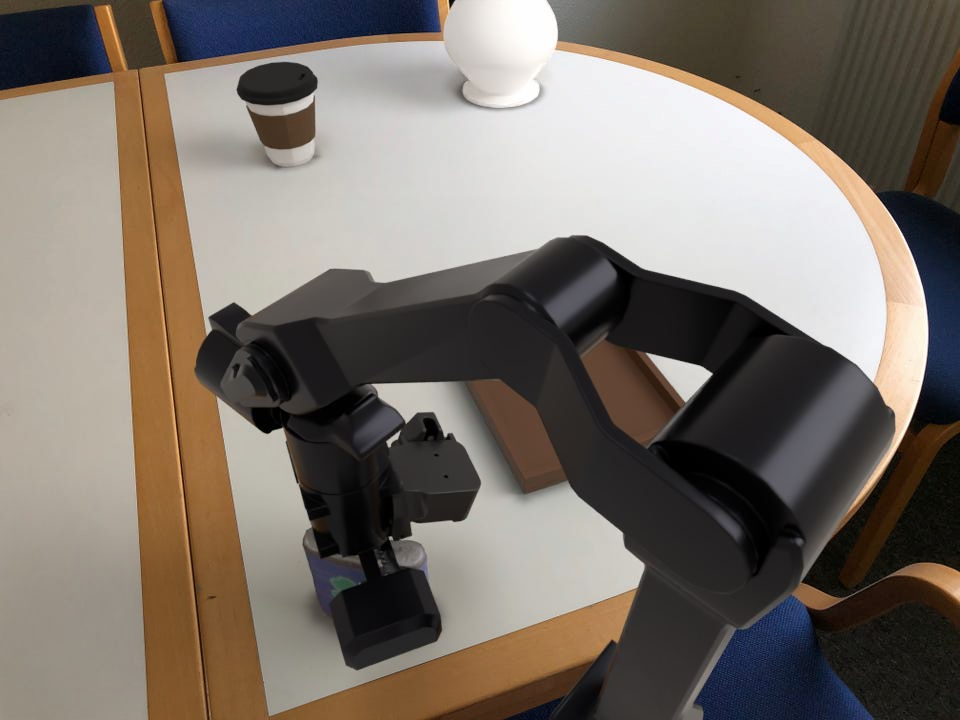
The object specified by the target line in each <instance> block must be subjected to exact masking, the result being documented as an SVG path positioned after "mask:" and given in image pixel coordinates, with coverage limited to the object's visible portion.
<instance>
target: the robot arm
mask: <svg viewBox="0 0 960 720" xmlns="http://www.w3.org/2000/svg"><path fill="white" fill-rule="evenodd" d="M207 319H208V322H209V325H210V327H211V330H210V331H209V333H207V336H206V337H205V338H204V340H203V341H202V342H201V345H200V347H199V349H198V351H197V356H196V359H195V367H194V370H193V372H194V375H195V378H196V379H197V381H198V382H199V384H200V385H202V386H203V387H204V388H205V389H207V390H208V391H209V392H210V393H212V395H214V396H215V397H217V398H218V399H219V400H221V401H222V402H223V403H224V404H225V405H226V406H228V407H230V408H231V409H232V410H233V411H234V412H236V413H237V414H238V415H240V416H241V417H242V418H244V420H246V421H247V422H248V423H249V424H251V425H252V426H254V427H255V428H256V429H257V430H259V431H260V432H261V433H263V434H265V435H269V434H271V433H272V432H274V431H277V430H282V429H283V433H284V437H285V445H286V449H287V453H288V456H289V461H290V464H291V467H292V472H293V476H294V479H295V483H296V484H297V485H298V488H299V492H300V495H301V498H302V503H303V507H304V509H305V511H306V514H307V518H308V521H309V523H310V525H311V527H312V530H313V534H314V537H315V541H316V545H317V548H318V552H319V555H320V559H324V558H327V557H330V556H333V555H336V554H337V555H338V557H339V558H344V557H348V556H358V557H359V560H360V563H361V567H362V570H363V573H364V576H365V579H366V580H365V581H362V582H360V583H359V585H356V586H353V587H350V588H347V589H344V590H341V591H340V592H339V593H338V594H337V595H336V596H335V597H334V598H333V599H332V601H331V602H330V603H329V606H330V610H331V614H332V618H333V620H332V621H333V625H334V628H335V632H336V636H337V640H338V644H339V648H340V652H341V654H342V655H341V656H342V659H343V661H344V665H345V666H346V667H348V668H349V669H353V670H354V671H360V670H362V669H365V668H369V667H371V666H374V665H376V664H380V663H382V662H384V661H387V660H390V659H392V658H396V657H397V656H401V655H404V654H406V653H409V652H411V651H415V650H417V649H420V648H423V647H425V646H428V645H431V644H434V643H436V642H438V640H439V639H440V636H441V634H442V632H443V623H442V616H441V615H442V614H441V612H440V609H439V607H438V604H437V602H436V600H435V597H434V594H433V591H432V589H431V585H430V582H429V583H428V581H427V578H426V575H425V573H424V571H423V570H418V569H413V568H409V567H407V566H402V565H399V564H398V562H397V559H396V556H395V553H394V550H393V548H392V545H391V542H390V540H393V541H398V540H405V539H406V538H410V537H413V532H412V531H413V530H412V525H411V524H412V523H414V524H430V523H440V522H450V521H451V522H453V523H459V522H463V521H465V520H467V518H468V516H469V514H470V511H471V509H472V507H473V505H474V502H475V501H476V498H477V496H478V493H479V491H480V488H481V486H482V481H481V478H480V476H479V472H478V471H477V470H476V469H477V468H476V467H475V465H474V463H473V462H472V459H471V458H470V455H469V453H468V451H467V449H466V448H465V446H464V445H463V444H462V443H461V442H459V441H457V439H456V437H455V435H454V433H453V432H448V433H446V434H447V435H446V436H445V434H444V430H443V427H442V426H441V424H440V422H439V419H438V417H437V415H436V413H435V412H434V411H420V412H416V413H415V414H414V415H413V416H412V417H411V418H409V420H408V421H407V422H406V420H405V418H404V417H403V415H402V414H401V413H400V412H399V410H397V408H395V407H393V405H391V404H389V403H388V402H386V401H385V400H384V399H382V398H381V397H379V392H378V390H377V388H376V387H375V386H374V385H386V384H387V385H388V384H389V385H391V384H419V383H421V384H422V383H424V384H425V383H457V382H458V383H459V382H465V381H494V380H501V381H502V382H504V383H505V384H506V385H507V386H509V387H510V388H511V389H513V390H514V391H515V392H516V393H518V394H519V395H520V396H522V397H523V398H524V399H525V400H527V401H528V402H529V403H531V404H532V405H533V406H534V407H535V408H536V409H537V411H538V414H539V416H540V418H541V420H542V423H543V425H544V427H545V430H546V432H547V434H548V436H549V439H550V441H551V443H552V445H553V448H554V450H555V452H556V455H557V457H558V459H559V461H560V464H561V466H562V468H563V470H564V473H565V475H566V477H567V480H566V481H568V485H569V486H570V488H571V489H572V490H573V492H574V493H575V495H576V496H577V497H578V498H579V499H581V501H583V502H584V503H585V504H587V506H588V507H590V508H592V509H593V510H594V511H595V512H596V513H598V514H599V515H600V516H601V517H602V518H604V519H605V520H606V521H607V522H608V523H610V524H611V525H613V526H614V527H615V528H616V529H617V530H619V531H620V532H621V533H622V542H623V545H624V546H623V547H624V548H625V549H626V550H627V551H628V552H629V553H630V554H632V555H633V556H634V557H635V558H636V559H637V560H639V561H640V562H641V563H642V564H643V565H644V566H643V571H642V573H641V577H640V579H639V582H638V585H637V588H636V590H635V593H634V597H633V599H632V602H631V605H630V608H629V610H628V613H627V615H626V619H625V621H624V624H623V627H622V631H621V632H620V636H619V639H618V641H616V640H614V639H612V638H611V639H610V641H609V642H608V643H607V645H605V647H604V648H603V650H601V652H600V653H599V654H598V656H597V657H596V658H595V659H594V661H593V662H592V663H591V664H590V666H589V667H588V668H587V669H586V670H585V672H584V673H583V674H582V675H581V676H580V678H579V679H578V681H576V683H575V684H574V685H573V686H572V688H571V689H570V690H569V692H568V693H567V694H566V695H565V696H564V698H563V699H562V701H560V703H559V704H558V705H557V706H556V708H555V709H554V710H553V711H552V713H550V715H549V716H548V719H547V720H703V718H704V710H703V706H702V705H701V704H700V703H698V702H697V701H696V699H697V697H698V696H699V694H700V692H701V691H702V689H703V687H704V685H705V684H706V682H707V680H708V679H709V677H710V676H711V673H712V671H713V670H714V668H715V666H716V665H717V663H718V661H719V660H720V658H721V656H722V654H723V653H724V651H725V650H726V648H727V646H728V644H729V642H730V641H731V639H732V637H733V636H734V634H735V632H736V631H737V630H746V629H749V628H750V627H752V626H753V625H754V624H756V623H757V622H758V621H759V620H761V619H762V618H764V617H765V616H766V615H767V614H768V613H771V611H772V610H774V609H775V608H776V607H778V605H780V604H782V602H784V601H785V600H787V599H788V598H789V597H790V596H791V595H792V594H793V593H795V591H796V590H797V589H798V588H799V587H800V585H801V583H802V582H803V580H804V579H805V577H806V576H807V574H808V573H809V571H810V569H811V568H812V566H813V565H814V564H815V562H816V561H817V559H818V558H819V556H820V555H821V553H822V551H823V550H824V548H825V547H826V546H827V544H828V542H829V541H830V540H831V538H832V536H833V535H834V533H835V532H836V530H838V529H837V528H838V527H839V526H840V524H841V523H842V521H843V520H844V518H845V517H846V515H847V514H848V512H849V510H850V509H851V508H852V506H853V504H854V503H855V502H856V500H857V498H858V497H859V495H860V494H861V492H862V491H863V489H864V488H865V487H866V485H867V483H868V482H869V480H870V479H871V477H872V476H873V474H874V473H875V471H876V470H877V468H878V467H879V465H880V464H881V462H882V461H883V459H884V457H886V455H887V453H888V452H889V450H890V449H891V446H892V443H893V440H894V438H895V434H896V430H897V427H896V413H895V411H894V409H893V408H891V407H890V406H889V405H887V403H886V401H885V400H884V398H883V396H882V393H881V391H880V389H879V388H878V386H877V385H876V384H875V383H874V382H873V381H872V379H870V377H869V376H868V375H867V374H866V373H865V372H864V371H863V370H862V369H861V368H860V366H859V365H858V364H856V363H855V362H853V361H852V360H851V359H849V358H848V357H846V356H845V355H843V354H841V353H840V352H838V351H837V350H836V349H834V348H833V347H830V346H828V345H825V344H822V342H820V341H819V340H817V339H815V338H813V337H812V336H811V335H809V334H807V333H806V332H804V331H802V330H801V329H799V328H798V327H796V326H795V325H793V324H792V323H790V322H788V321H787V320H785V319H784V318H782V317H780V316H779V315H777V314H775V312H773V311H771V310H770V309H768V308H766V307H765V306H764V305H762V304H761V303H759V302H758V301H755V300H754V299H753V298H751V297H749V296H747V295H746V294H744V293H741V292H739V291H736V290H733V289H729V288H725V287H721V286H716V285H712V284H708V283H704V282H699V281H695V280H691V279H687V278H684V277H683V278H682V277H679V276H674V275H670V274H665V273H662V272H657V271H654V270H649V269H645V268H644V267H643V268H642V267H641V266H640V265H638V264H636V262H634V261H632V260H630V259H629V258H627V257H626V256H624V255H622V254H621V253H620V252H619V251H617V250H615V249H614V248H612V247H611V246H609V245H608V244H606V243H604V242H602V241H601V240H598V239H596V238H594V237H592V236H589V235H586V234H585V235H584V234H571V235H569V236H568V237H565V236H562V237H561V236H560V237H558V236H557V237H554V238H552V239H550V240H548V241H547V242H546V243H544V244H543V245H541V246H540V247H538V248H535V249H531V250H526V251H522V252H516V253H512V254H509V255H504V256H500V257H495V258H491V259H485V260H482V261H477V262H472V263H468V264H463V265H459V266H455V267H449V268H446V269H442V270H437V271H432V272H428V273H423V274H418V275H414V276H410V277H404V278H401V279H397V280H392V281H388V282H381V281H380V282H379V281H375V279H374V278H373V275H372V274H371V272H370V271H368V270H365V269H354V268H353V269H351V268H328V269H327V270H326V271H324V272H322V273H320V274H319V275H317V276H315V277H314V278H313V279H311V280H308V281H307V282H305V283H304V284H302V285H300V286H299V287H298V288H296V289H294V290H292V291H291V292H289V293H287V294H285V295H284V296H282V297H281V298H279V299H277V300H276V301H274V302H272V303H271V304H269V305H267V306H266V307H264V308H262V309H261V310H259V311H257V312H255V313H254V314H251V313H249V312H248V310H246V309H245V308H244V307H242V306H241V305H239V304H238V303H237V302H236V301H233V302H232V303H230V304H228V305H226V306H224V307H223V308H221V309H219V310H218V311H215V312H214V313H212V314H211V315H209V316H208V317H207ZM604 339H605V340H606V341H608V342H610V343H612V344H614V345H616V346H620V347H624V348H628V349H632V350H636V351H640V352H645V353H646V354H648V355H653V356H658V357H662V358H666V359H670V360H674V361H678V362H682V363H686V364H691V365H696V366H699V367H700V368H703V369H705V370H706V371H708V372H709V373H710V374H711V375H710V376H709V378H707V380H705V381H704V383H702V385H701V386H700V387H699V388H698V389H697V390H696V391H695V392H693V394H692V395H691V396H690V397H689V398H688V399H687V401H685V404H684V405H683V406H682V407H681V408H680V409H679V410H678V411H677V412H676V413H675V414H674V415H673V417H672V418H671V419H670V420H669V421H668V422H667V423H666V424H665V425H664V426H663V427H662V428H661V429H660V430H659V431H658V432H657V433H656V434H655V436H654V437H653V438H652V439H651V440H650V441H649V442H648V443H647V444H646V445H645V446H642V445H641V444H640V443H638V442H637V441H636V440H634V439H633V438H632V437H630V436H629V435H628V434H626V433H625V432H624V431H622V430H621V429H620V428H618V427H617V426H616V425H615V424H614V423H613V422H612V420H611V418H610V416H609V414H608V412H607V410H606V408H605V406H604V404H603V402H602V400H601V398H600V396H599V394H598V392H597V390H596V388H595V386H594V384H593V382H592V380H591V378H590V376H589V374H588V372H587V370H586V368H585V366H584V364H583V362H582V360H581V359H582V358H583V357H584V356H585V355H587V354H588V353H589V352H590V351H591V350H592V349H593V348H595V347H596V346H597V345H598V344H599V343H600V342H601V341H603V340H604ZM398 433H399V435H398V436H397V439H394V440H393V441H392V442H391V444H390V446H389V445H388V441H389V440H390V439H392V438H393V437H395V435H397V434H398ZM390 537H391V538H392V539H390ZM375 549H376V550H378V551H377V552H378V555H380V556H379V558H380V560H381V564H382V565H383V566H382V567H383V570H384V573H385V574H383V575H382V574H381V571H380V568H379V565H378V562H377V559H376V556H375V553H374V550H375ZM429 585H430V586H429Z"/></svg>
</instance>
